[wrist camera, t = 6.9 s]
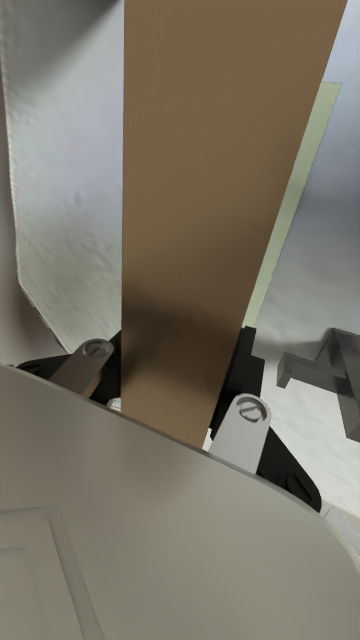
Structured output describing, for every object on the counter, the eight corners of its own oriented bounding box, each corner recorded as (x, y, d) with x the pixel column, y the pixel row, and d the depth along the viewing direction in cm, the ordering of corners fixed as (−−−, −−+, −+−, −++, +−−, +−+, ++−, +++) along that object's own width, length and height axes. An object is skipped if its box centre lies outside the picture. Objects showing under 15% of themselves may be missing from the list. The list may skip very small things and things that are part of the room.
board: (253, 78, 22) (252, 76, 21) (340, 85, 20) (341, 83, 19) (197, 336, 37) (196, 339, 36) (244, 352, 35) (243, 355, 34)
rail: (207, -74, 6) (127, -316, 3) (375, -87, 5) (491, -442, 2) (145, 465, 19) (119, 517, 16) (189, 487, 18) (170, 546, 15)
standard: (289, 315, 30) (289, 381, 20) (372, 338, 28) (415, 425, 18) (275, 347, 33) (269, 418, 23) (349, 371, 31) (377, 461, 21)
